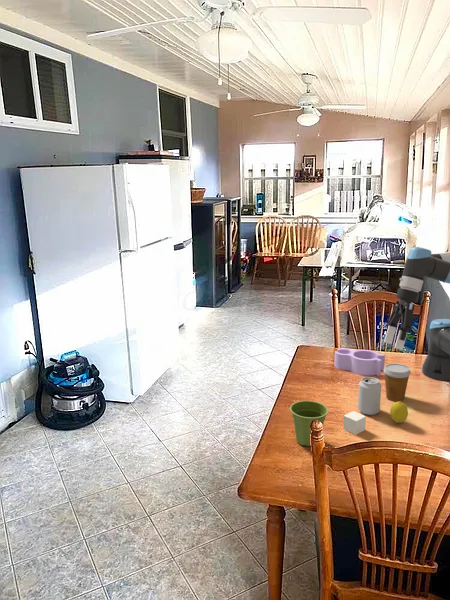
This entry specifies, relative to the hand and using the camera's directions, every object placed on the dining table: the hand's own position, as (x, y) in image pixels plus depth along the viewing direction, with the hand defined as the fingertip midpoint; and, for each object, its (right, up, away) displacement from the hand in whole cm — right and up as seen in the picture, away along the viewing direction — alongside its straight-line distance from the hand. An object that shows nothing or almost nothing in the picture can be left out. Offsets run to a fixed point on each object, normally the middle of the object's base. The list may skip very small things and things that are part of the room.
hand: (392, 346), depth 181 cm
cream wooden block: (-19, -26, -17) cm, 36 cm away
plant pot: (-35, -28, -23) cm, 50 cm away
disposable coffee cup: (+2, -20, +5) cm, 21 cm away
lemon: (-3, -25, -14) cm, 29 cm away
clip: (-4, -13, +32) cm, 35 cm away
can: (-10, -23, -5) cm, 25 cm away
